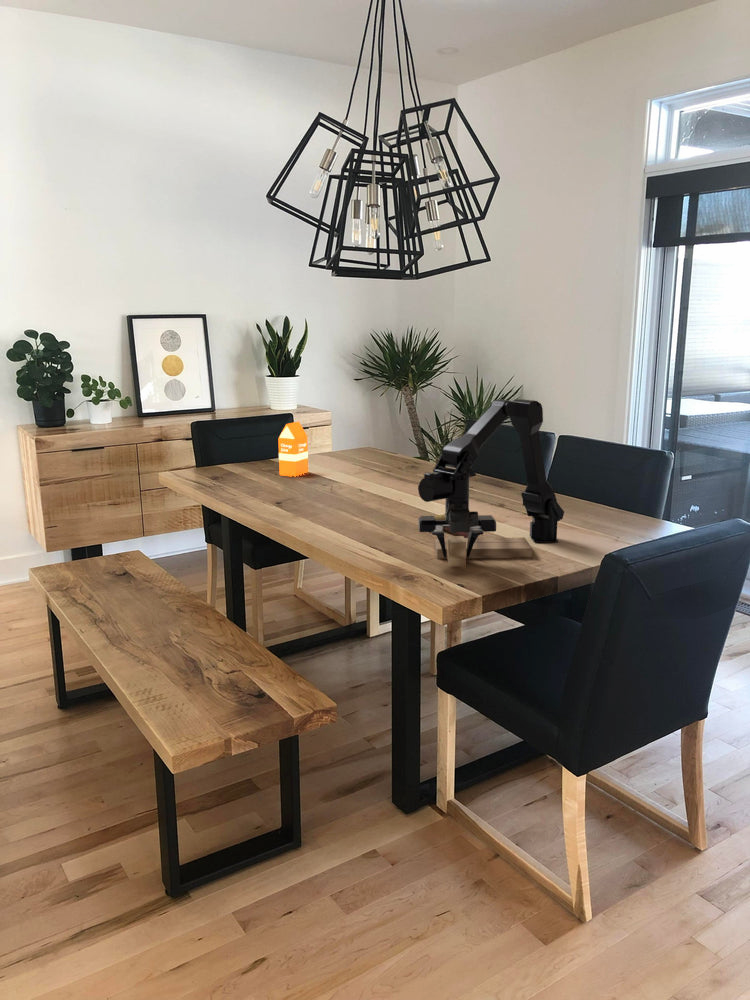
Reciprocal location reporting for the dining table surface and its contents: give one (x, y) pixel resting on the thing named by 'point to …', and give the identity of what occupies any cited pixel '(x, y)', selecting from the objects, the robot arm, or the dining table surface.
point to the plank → (492, 548)
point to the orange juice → (293, 450)
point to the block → (456, 551)
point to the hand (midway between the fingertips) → (456, 557)
